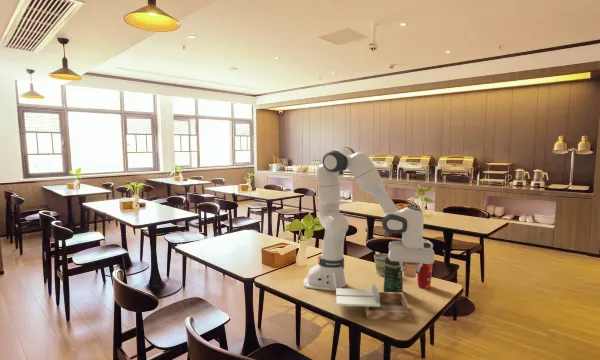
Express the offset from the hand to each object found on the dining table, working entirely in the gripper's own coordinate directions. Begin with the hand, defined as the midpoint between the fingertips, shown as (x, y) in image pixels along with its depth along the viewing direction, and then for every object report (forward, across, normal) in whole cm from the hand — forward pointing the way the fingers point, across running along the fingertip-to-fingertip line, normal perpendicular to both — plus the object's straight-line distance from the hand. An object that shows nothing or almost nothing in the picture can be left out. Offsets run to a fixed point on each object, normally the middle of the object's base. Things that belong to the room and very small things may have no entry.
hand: (410, 271), depth 157 cm
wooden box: (+15, -12, -10) cm, 22 cm away
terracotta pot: (+2, 0, 0) cm, 2 cm away
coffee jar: (+15, -5, +10) cm, 19 cm away
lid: (+10, -25, -10) cm, 29 cm away
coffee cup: (+14, +12, +18) cm, 26 cm away
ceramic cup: (+15, -5, +34) cm, 37 cm away
